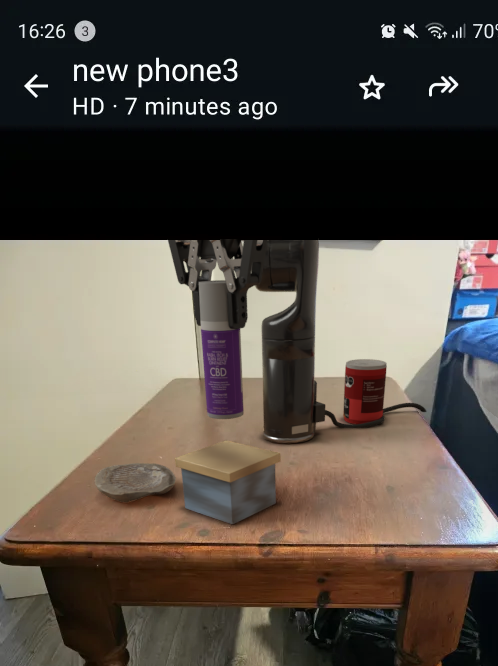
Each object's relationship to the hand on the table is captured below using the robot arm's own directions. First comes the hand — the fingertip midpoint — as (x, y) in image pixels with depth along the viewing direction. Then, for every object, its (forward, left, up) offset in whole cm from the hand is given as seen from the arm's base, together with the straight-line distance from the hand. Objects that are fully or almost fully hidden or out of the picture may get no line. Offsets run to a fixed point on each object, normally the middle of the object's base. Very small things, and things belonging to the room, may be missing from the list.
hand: (220, 326), depth 69 cm
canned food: (-49, -9, -23) cm, 55 cm away
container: (0, 0, -11) cm, 11 cm away
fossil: (+5, -14, -23) cm, 27 cm away
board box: (0, 0, -23) cm, 23 cm away
